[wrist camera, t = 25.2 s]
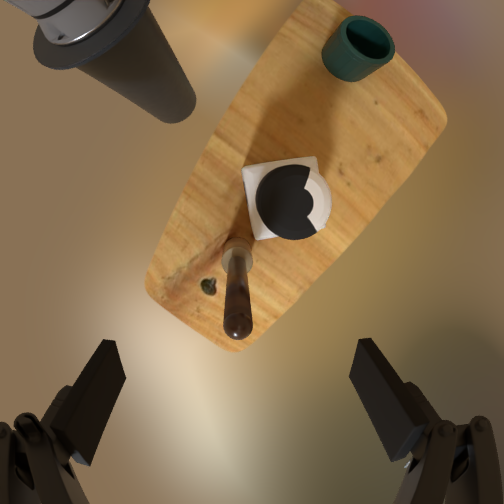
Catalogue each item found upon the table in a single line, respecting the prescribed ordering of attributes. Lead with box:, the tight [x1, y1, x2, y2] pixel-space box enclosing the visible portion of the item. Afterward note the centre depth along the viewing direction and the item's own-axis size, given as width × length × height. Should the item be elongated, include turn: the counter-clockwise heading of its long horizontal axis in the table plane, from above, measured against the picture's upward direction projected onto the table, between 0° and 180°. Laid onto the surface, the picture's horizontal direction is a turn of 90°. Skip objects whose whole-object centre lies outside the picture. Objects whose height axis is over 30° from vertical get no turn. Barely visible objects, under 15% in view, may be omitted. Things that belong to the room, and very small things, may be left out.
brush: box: [222, 237, 253, 340], centre depth 27 cm, size 4×4×20 cm
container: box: [241, 156, 332, 240], centre depth 29 cm, size 8×8×13 cm
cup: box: [322, 15, 395, 82], centre depth 26 cm, size 7×7×8 cm
